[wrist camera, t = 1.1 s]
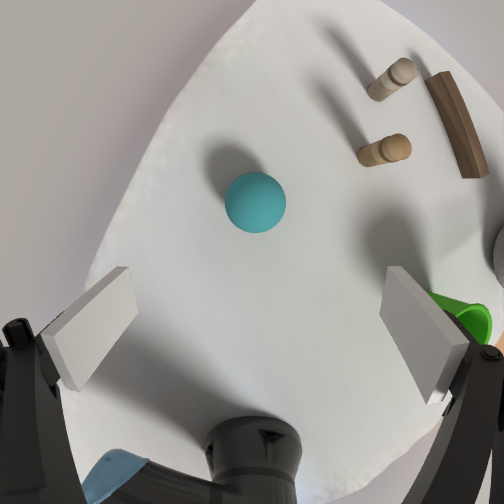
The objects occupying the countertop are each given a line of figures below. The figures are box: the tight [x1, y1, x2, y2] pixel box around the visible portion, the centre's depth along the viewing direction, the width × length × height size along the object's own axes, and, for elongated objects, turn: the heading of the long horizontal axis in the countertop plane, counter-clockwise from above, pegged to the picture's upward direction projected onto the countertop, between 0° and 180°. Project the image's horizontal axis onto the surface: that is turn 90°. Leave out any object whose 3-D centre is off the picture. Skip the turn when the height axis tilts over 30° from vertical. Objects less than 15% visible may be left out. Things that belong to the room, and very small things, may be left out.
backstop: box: [424, 71, 489, 178], centre depth 27 cm, size 2×14×4 cm, turn 24°
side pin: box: [367, 58, 418, 102], centre depth 24 cm, size 2×2×8 cm
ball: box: [225, 172, 286, 233], centre depth 28 cm, size 6×6×6 cm
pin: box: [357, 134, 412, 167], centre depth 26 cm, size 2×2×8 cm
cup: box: [425, 291, 492, 345], centre depth 28 cm, size 9×9×11 cm
